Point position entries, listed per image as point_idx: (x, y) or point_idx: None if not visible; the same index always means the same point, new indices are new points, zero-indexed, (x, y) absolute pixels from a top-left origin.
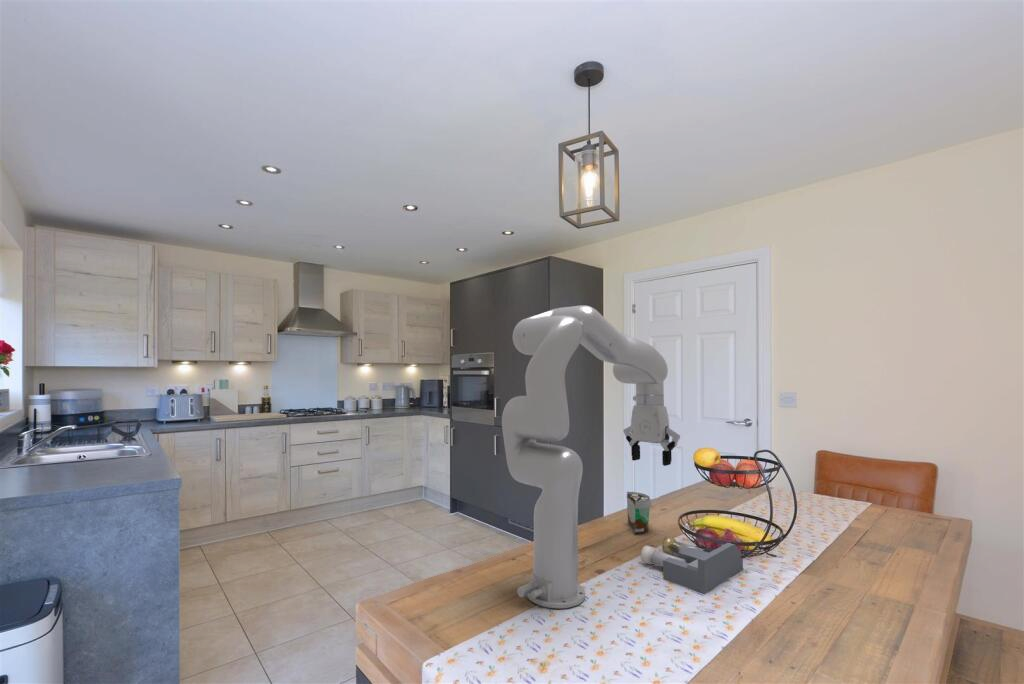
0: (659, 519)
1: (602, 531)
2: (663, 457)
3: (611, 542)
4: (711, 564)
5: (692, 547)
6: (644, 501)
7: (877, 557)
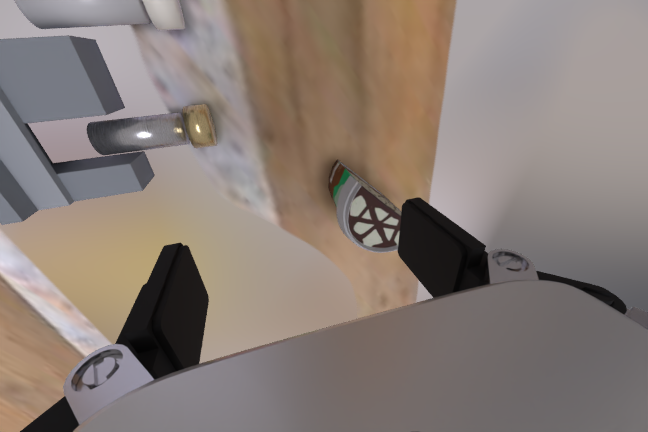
0: (358, 262)
1: (395, 112)
2: (158, 281)
3: (338, 65)
4: None
5: (120, 133)
6: (347, 209)
7: (38, 406)
